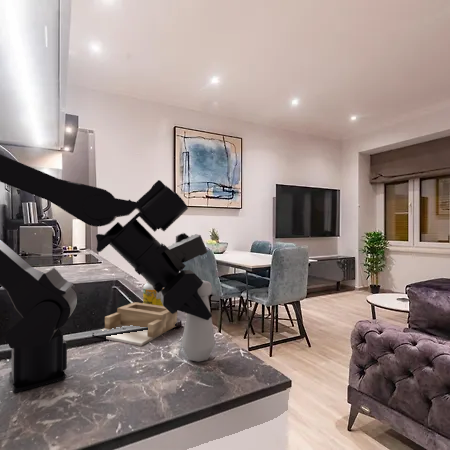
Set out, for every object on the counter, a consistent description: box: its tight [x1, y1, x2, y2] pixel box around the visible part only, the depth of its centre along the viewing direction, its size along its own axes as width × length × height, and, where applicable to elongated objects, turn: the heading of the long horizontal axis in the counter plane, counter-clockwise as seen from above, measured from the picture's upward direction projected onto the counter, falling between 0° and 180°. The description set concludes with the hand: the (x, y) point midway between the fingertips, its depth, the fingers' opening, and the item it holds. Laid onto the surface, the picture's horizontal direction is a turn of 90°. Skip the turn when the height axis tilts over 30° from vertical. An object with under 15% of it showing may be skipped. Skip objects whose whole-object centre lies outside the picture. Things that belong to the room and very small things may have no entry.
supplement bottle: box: [142, 279, 164, 306], centre depth 81 cm, size 5×5×10 cm
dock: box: [101, 301, 178, 347], centre depth 67 cm, size 13×12×4 cm
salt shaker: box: [181, 279, 216, 362], centre depth 54 cm, size 6×6×13 cm
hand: (207, 314), depth 54 cm, fingers closed on salt shaker, 3 cm apart
